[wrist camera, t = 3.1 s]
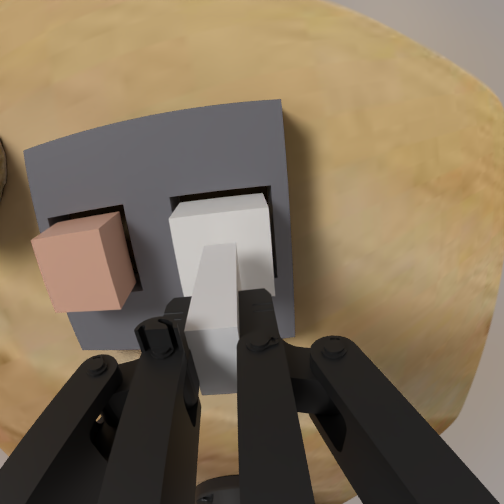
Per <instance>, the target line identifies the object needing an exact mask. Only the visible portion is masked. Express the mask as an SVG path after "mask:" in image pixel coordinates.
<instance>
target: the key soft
mask: <svg viewBox="0 0 504 504" xmlns="http://www.w3.org/2000/svg"><path fill="white" fill-rule="evenodd" d="M169 224H170V230H171V235H172V241H173V246H174V251H175V256H176V261H177V266H178V271H179V276H180V281H181V285H182V290H183V295H184V297H189V296H192V293H193V289H194V285H195V280H196V276H197V272H198V268H199V264H200V259H201V255H202V251H203V247H204V246H206V245H215V244H225V243H234V242H236V246H237V255H238V263H239V271H240V279H241V287H242V290H251V289H260V288H265V289H266V290H267V291H268V292H269V293H270V294H271V296H275V286H274V272H273V258H272V245H271V232H270V220H269V208H268V205H267V203H266V200H265V198H264V195H263V193H258V194H248V195H239V196H230V197H221V198H212V199H204V200H196V201H188V202H181V203H179V205H178V206H177V207H176V209H175V210H174V212H173V213H172V214H171V216H170V217H169Z"/></svg>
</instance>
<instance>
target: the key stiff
mask: <svg viewBox="0 0 504 504" xmlns="http://www.w3.org/2000/svg"><path fill="white" fill-rule="evenodd" d="M31 243H32V246H33V249H34V253H35V256H36V259H37V262H38V266H39V269H40V272H41V275H42V277H43V280H44V283H45V286H46V289H47V291H48V294H49V297H50V299H51V302H52V305H53V307H54V310H55V312H56V313H58V312H83V311H103V310H120V309H122V307H123V305H124V303H125V302H126V300H127V298H128V296H129V294H130V293H131V291H132V289H133V287H134V285H135V284H136V279H135V275H134V271H133V268H132V264H131V260H130V256H129V251H128V247H127V243H126V239H125V234H124V230H123V225H122V220H121V216H120V211H119V212H113V213H107V214H101V215H95V216H89V217H84V218H78V219H73V220H67V221H62V222H57V223H56V224H54V225H53V226H51V227H50V228H48V229H46V230H45V231H44V232H42V233H41V234H39V235H38V236H36V237H35V238H33V239H32V240H31Z"/></svg>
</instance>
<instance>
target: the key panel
mask: <svg viewBox="0 0 504 504" xmlns="http://www.w3.org/2000/svg"><path fill="white" fill-rule="evenodd" d="M23 152H24V159H25V165H26V171H27V176H28V182H29V187H30V192H31V197H32V201H33V206H34V210H35V214H36V218H37V223H38V226H39V230H40V234H41V233H42V232H44V231H45V230H46V229H48V228H50V227H51V226H53V225H54V224H56V223H57V222H62V221H67V220H70V218H69V214H71V213H76V212H82V211H87V210H93V209H98V208H104V207H109V206H115V205H121V204H123V206H124V211H125V216H126V221H127V226H128V230H129V235H130V239H131V244H132V248H133V252H134V256H135V261H136V265H137V269H138V273H135V274H134V275H135V279H136V284H135V285H134V287H133V289H132V291H131V293H130V294H129V296H128V298H127V300H126V302H125V303H124V305H123V307H122V309H120V310H103V311H83V312H67V315H68V317H69V320H70V322H71V325H72V327H73V330H74V332H75V334H76V337H77V339H78V341H79V343H80V346H81V348H82V350H137V349H140V346H139V344H138V341H137V338H136V335H135V332H134V329H135V328H136V327H137V325H139V324H140V323H141V322H143V321H145V320H147V319H150V318H153V317H159V316H163V315H164V311H165V308H166V305H167V304H168V303H169V302H170V301H171V300H172V299H173V298H177V297H184V295H183V290H182V285H181V281H180V276H179V271H178V266H177V261H176V256H175V251H174V246H173V241H172V235H171V230H170V224H169V217H170V216H171V214H172V213H173V212H174V210H175V209H176V207H177V206H178V205H179V203H180V198H179V196H181V195H189V194H196V193H204V192H212V191H221V190H230V189H239V188H248V187H258V186H267V194H268V206H269V218H270V231H271V243H272V257H273V272H274V286H275V296H272V301H273V306H274V311H275V315H276V320H277V325H278V330H279V334H280V337H281V338H290V337H295V315H294V286H293V263H292V243H291V224H290V208H289V192H288V178H287V164H286V151H285V139H284V127H283V116H282V105H281V99H277V100H262V101H250V102H239V103H229V104H220V105H212V106H205V107H197V108H191V109H184V110H178V111H172V112H166V113H161V114H155V115H150V116H145V117H140V118H136V119H131V120H127V121H122V122H118V123H114V124H110V125H106V126H102V127H98V128H94V129H90V130H86V131H83V132H79V133H76V134H72V135H69V136H66V137H62V138H59V139H56V140H53V141H50V142H47V143H44V144H41V145H38V146H35V147H32V148H29V149H26V150H24V151H23Z"/></svg>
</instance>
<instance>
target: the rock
mask: <svg viewBox="0 0 504 504" xmlns="http://www.w3.org/2000/svg"><path fill="white" fill-rule="evenodd" d="M6 177H7V166H6V156H5V152H4V150H3V147H2V145H1V141H0V200H1V194H2V190H3V186H4V185H5V183H6Z"/></svg>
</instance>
